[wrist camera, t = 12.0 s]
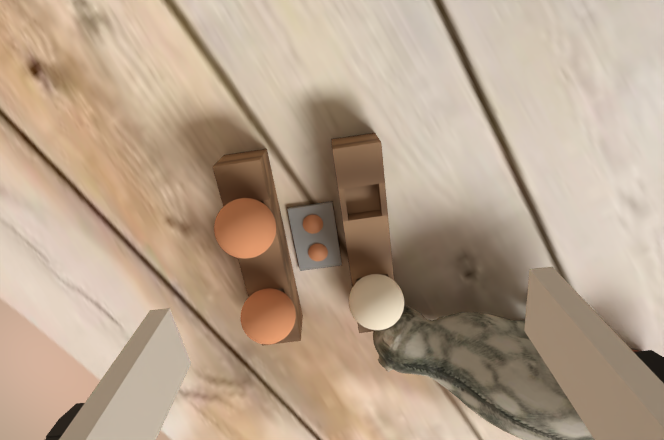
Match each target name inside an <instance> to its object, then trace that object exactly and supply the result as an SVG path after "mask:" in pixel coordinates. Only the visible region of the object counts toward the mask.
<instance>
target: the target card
mask: <svg viewBox="0 0 664 440" xmlns="http://www.w3.org/2000/svg"><path fill="white" fill-rule="evenodd" d="M287 210H288V215H289V220H290V225H291V229H292V234H293V239H294V244H295V249H296V254H297V258H298V263H299V268H300V271H303V270H310V269H318V268H325V267H332V266H340V265H342V262H341V256H340V249H339V243H338V236H337V230H336V223H335V217H334V210H333V204H332V202H325V203H318V204H311V205H304V206H296V207H289V208H288V209H287Z"/></svg>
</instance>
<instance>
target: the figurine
mask: <svg viewBox="0 0 664 440" xmlns="http://www.w3.org/2000/svg"><path fill="white" fill-rule="evenodd" d="M524 329H525V320H517V321H515V320H508V319H504V318H501V317H498V316H494V315H490V314H484V313H477V312H465V313H458V314H454V315H448V316H445V317H439V318H438V319H437V320H433V321H431V320H428V319H426V318H424V317H423V316H422V315H421V314H420V313H419V312H418V311H417V310H415V309H414V308H412V307H409V306H407V305H404V309H403V313H402V315H401V317H400V318H399V320H398V321H397V322H396V323H395V324H394V325H393V326H391V327H389V328H387V329H383V330H375V331H374V332H373V340H374V345H375V348H376V350H377V352H378V354H379V359H378V361H379V363H380V364H381V365H382V366H383V367H384V368H385V369H386V370H387V371H388V372H389V371H391V370H395V371H397V372H400V373H406V374H416V375H423V376H428V377H430V378H432V379H433V380H435V381H437V382H438V383H440V384H441V385H442V386H444V387H445V388H446V389H447V390H449V391H450V392H451V393H453V394H454V395H455V396H456V397H457V398H459V399H460V400H461V401H462V402H463V403H464V404H465V405H466V406H468V407H469V408H470V409H471V410H473V411H474V412H475V413H476V414H478V415H479V416H480V417H482V418H483V419H485V420H486V421H488V422H489V423H491V424H493V425H494V426H496V427H498V428H500V429H502V430H503V431H505V432H507V433H510V434H512V435H514V436H516V437H519V438H521V439H523V440H594V438H593V436H592V435H591V433H590V432H589V430H588V429H587V427H586V426H585V424H584V422H583V421H582V419H581V418H580V416H579V415H578V413H577V412H576V410H575V408H574V407H573V405H572V404H571V402H570V401H569V399H568V398H567V396H566V395H565V393H564V391H563V390H562V388H561V387H560V385H559V384H558V382H557V381H556V379H555V377H554V376H553V374H552V373H551V371H550V370H549V368H548V367H547V365H546V364H545V362H544V360H543V359H542V357H541V356H540V354H539V353H538V351H537V350H536V348H535V346H534V345H533V343H532V342H531V340H530V339H529V337H528V336H527V334H526V333H525V331H524Z"/></svg>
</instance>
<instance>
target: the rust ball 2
mask: <svg viewBox="0 0 664 440" xmlns="http://www.w3.org/2000/svg"><path fill="white" fill-rule="evenodd" d="M295 319H296V312H295V307H294V304H293V302H292V300H291V299H290V298H289V297H288V296H287V295H286V294H285V293H284V292H282V291H280V290H277V289H272V288H267V289H261V290H259V291H257V292H255V293H253V294H252V295H251V296H250V297H249V298H248V299H247V300H246V302H245V303H244V305H243V307H242V311H241V324H242V327H243V330H244V331H245V333H246V334H247V336H248V337H249V338H251V339H252V340H253V341H255V342H257V343H261V344H274V343H277V342H279V341H281V340H283V339H284V338H285V337H286V336H287V335H288V334H289V333H290V332H291V330H292V329H293V326H294V324H295Z"/></svg>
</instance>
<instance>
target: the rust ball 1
mask: <svg viewBox="0 0 664 440" xmlns="http://www.w3.org/2000/svg"><path fill="white" fill-rule="evenodd" d="M214 232H215V237H216V240H217V242H218V244H219V245H220V246H221V248H222V249H223V250H224V251H225V252H227V253H228V254H230V255H232V256H234V257H237V258H245V259H246V258H253V257H256V256H259V255H261V254H262V253H264V252H265V251H266V250H267V249H268V248H269V247H270V246H271V244H272V243H273V240H274V238H275V235H276V221H275V218H274V216H273V214H272V212H271V211H270V209H269V208H268V207H267V206H266V205H265V204H263V203H262V202H260V201H258V200H255V199H251V198H240V199H236V200H233V201H231V202H229V203H228V204H226V205H225V206H224V207H223V208H222V209H221V210H220V212H219V213H218V215H217V217H216V220H215V225H214Z"/></svg>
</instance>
